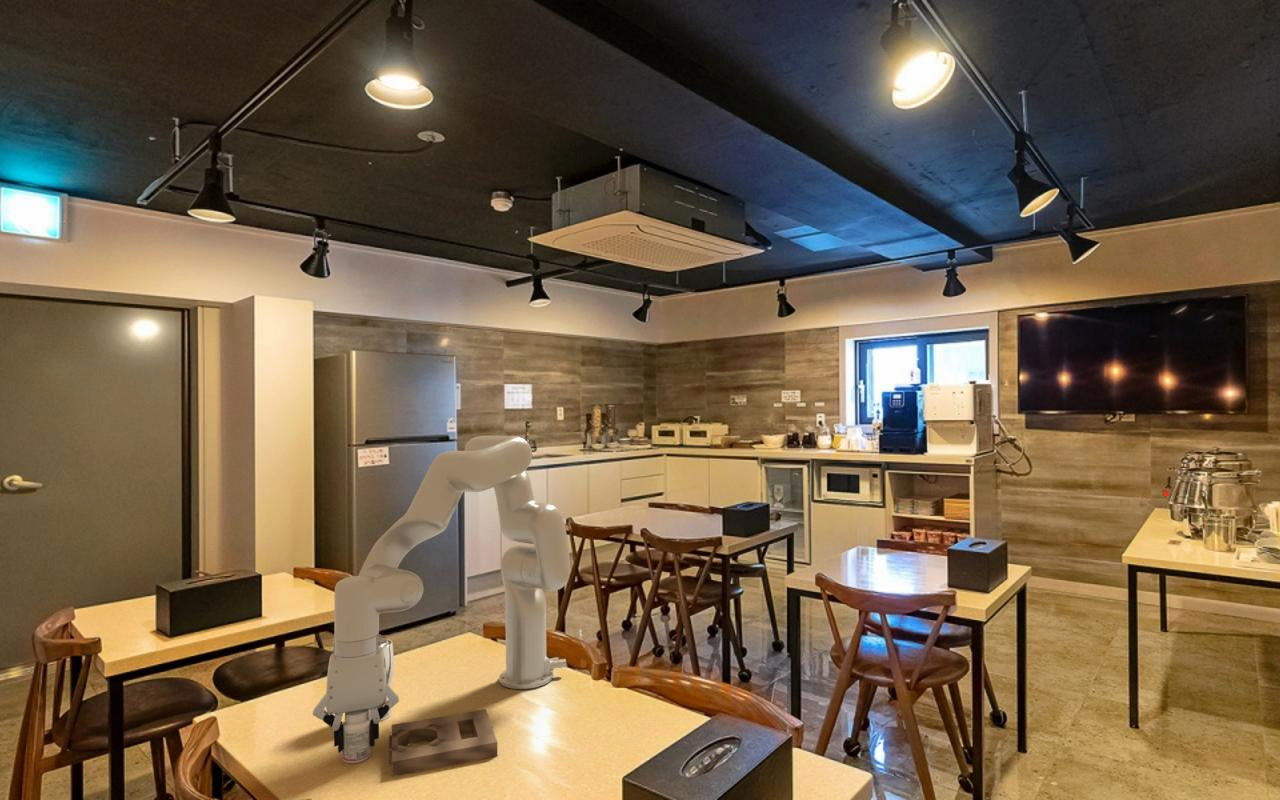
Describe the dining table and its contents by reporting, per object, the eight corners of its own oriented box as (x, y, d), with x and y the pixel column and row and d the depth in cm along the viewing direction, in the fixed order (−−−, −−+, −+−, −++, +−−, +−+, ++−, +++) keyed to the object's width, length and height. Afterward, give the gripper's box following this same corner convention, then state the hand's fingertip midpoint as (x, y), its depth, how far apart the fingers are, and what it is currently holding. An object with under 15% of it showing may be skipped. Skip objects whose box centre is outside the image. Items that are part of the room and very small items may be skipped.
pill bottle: (348, 751, 122) (348, 705, 122) (374, 750, 122) (374, 704, 122) (338, 765, 117) (338, 717, 117) (365, 763, 117) (366, 715, 117)
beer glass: (400, 711, 138) (400, 639, 139) (377, 725, 132) (377, 650, 132) (374, 707, 141) (374, 636, 141) (350, 721, 134) (350, 647, 135)
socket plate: (485, 721, 133) (485, 708, 133) (497, 755, 119) (497, 741, 119) (389, 738, 126) (389, 725, 127) (389, 777, 112) (389, 762, 113)
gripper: (405, 633, 127) (405, 728, 126) (307, 645, 120) (307, 745, 120) (406, 645, 120) (406, 746, 119) (302, 659, 113) (302, 765, 113)
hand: (356, 745), depth 119 cm, fingers closed on pill bottle, 4 cm apart
